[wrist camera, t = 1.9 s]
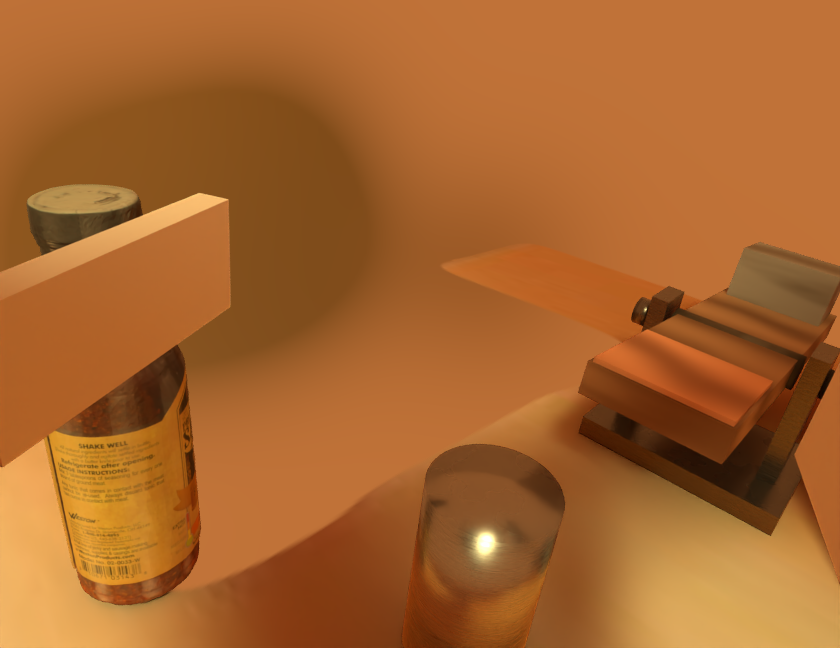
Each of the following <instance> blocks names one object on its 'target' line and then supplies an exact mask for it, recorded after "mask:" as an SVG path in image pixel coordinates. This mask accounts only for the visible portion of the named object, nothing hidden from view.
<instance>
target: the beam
mask: <svg viewBox="0 0 840 648" xmlns="http://www.w3.org/2000/svg"><path fill="white" fill-rule="evenodd" d="M839 293H840V266H837V265H834V264H831V263H827V262H824V261H821V260H818V259H814V258H811V257H807V256H804V255H801V254H798V253H794V252H791V251H788V250H784V249H781V248H778V247H775V246H771V245H768V244H764V243H761V242H759V243H756V244H754V245H751V246H749V247H746V248H744V250H743V253H742V256H741V258H740V261H739V263H738V265H737V268H736V271H735V273H734V276H733V278H732V281H731V283H730V286H729V288H727V289H725V290H723V291H721V292H719V293H717V294H715V295H713V296H712V297H710V298H708V299H706V300H704V301H702V302H700V303H698V304H696V305H694V306H692V307H690V308H689V309H687V310H683V309H681V308H678V309H676V311H675V312H674V313H673V315H672V316H671V318H669V319H667V320H666V321H664V322H662V323H660V324H658V325H656V326H654V327H652V328H650V329H647V330H645V331H643V332H641V333H639V334H637V335H635V336H634V337H632V338H630V339H628V340H626V341H624V342H622V343H620V344H618V345H616V346H615V347H612V348H611V349H609V350H607V351H605V352H603V353H601V354H599V355H597V356H595V357H594V358H593V359H591V360H589V361H588V363H587V366H586V369H585V372H584V376H583V379H582V382H581V385H580V388H579V391H578V393H580V394H582V395H584V396H586V397H588V398H590V399H592V400H594V401H596V402H598V403H600V404H602V405H604V406H606V407H608V408H610V409H612V410H614V411H616V412H618V413H620V414H622V415H624V416H626V417H628V418H630V419H632V420H634V421H636V422H638V423H640V424H642V425H644V426H646V427H648V428H650V429H652V430H654V431H656V432H658V433H660V434H662V435H664V436H666V437H668V438H670V439H672V440H674V441H676V442H678V443H680V444H682V445H684V446H686V447H688V448H690V449H692V450H694V451H696V452H698V453H700V454H702V455H704V456H706V457H708V458H710V459H712V460H714V461H716V462H718V463H720V464H723V463H724V461H725V460H726V459H727V458H728V456H729V455H730V454H731V453H732V452H733V450H734V449H735V448H736V447H737V446H738V444H739V443H740V442H741V441H742V440H743V438H744V437H745V436H746V435H747V433H748V432H749V431H750V430H751V429H752V427H753V426H754V425H755V424H756V423H757V421H758V420H759V419H760V418H761V417H762V415H763V414H764V413H765V412H766V410H767V409H768V408H769V407H770V406H771V404H772V403H773V402H774V401H775V400H776V398H777V397H778V396H779V395H780V394H781V392H782V391H783V390H784V389H785V388H787V389H790V390H791V389H792V388H793V386H794V384H795V383H796V381H797V379H798V377H799V375H800V373H801V371H802V369H803V367H804V364H805V363H806V362H807V361H808V360H809V358H810V356H811V355H812V354H813V352H814V351H815V349H816V348H817V347H818V345H819V344H820V343H821V342H823V341H824V340H825V339H826V338H827V336H828V334H829V331H830V329H831V327H832V325H833V323H834V321H835V319H836V316H835V315H832V314H830V312H831V310H832V308H833V306H834V304H835V301H836V299H837V297H838V295H839Z"/></svg>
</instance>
